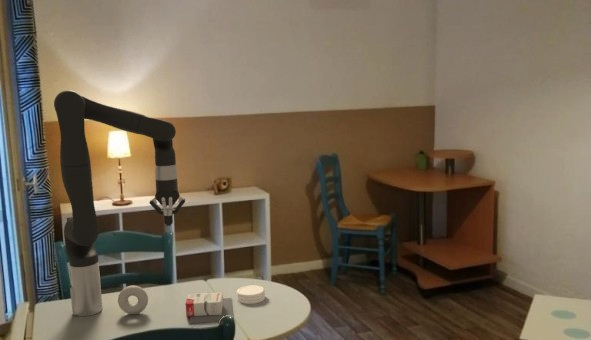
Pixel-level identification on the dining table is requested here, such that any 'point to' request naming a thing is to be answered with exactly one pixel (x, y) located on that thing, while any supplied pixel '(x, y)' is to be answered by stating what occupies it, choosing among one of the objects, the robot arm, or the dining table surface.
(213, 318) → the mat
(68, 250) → the robot arm
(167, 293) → the dining table surface
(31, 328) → the dining table surface
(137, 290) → the donut
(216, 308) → the ink box
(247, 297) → the white round lidded container
